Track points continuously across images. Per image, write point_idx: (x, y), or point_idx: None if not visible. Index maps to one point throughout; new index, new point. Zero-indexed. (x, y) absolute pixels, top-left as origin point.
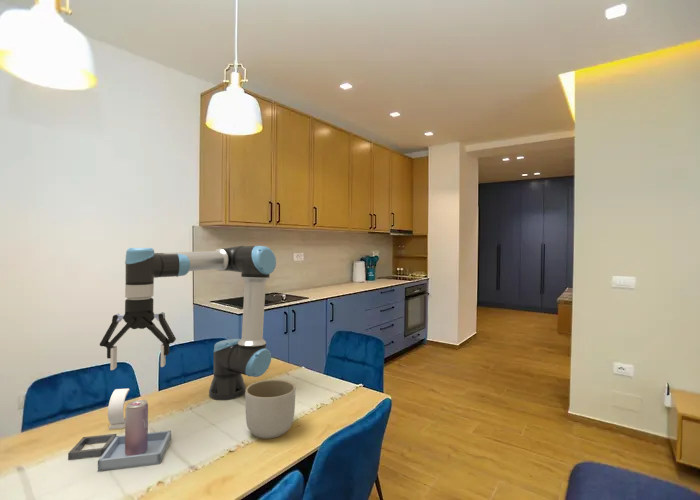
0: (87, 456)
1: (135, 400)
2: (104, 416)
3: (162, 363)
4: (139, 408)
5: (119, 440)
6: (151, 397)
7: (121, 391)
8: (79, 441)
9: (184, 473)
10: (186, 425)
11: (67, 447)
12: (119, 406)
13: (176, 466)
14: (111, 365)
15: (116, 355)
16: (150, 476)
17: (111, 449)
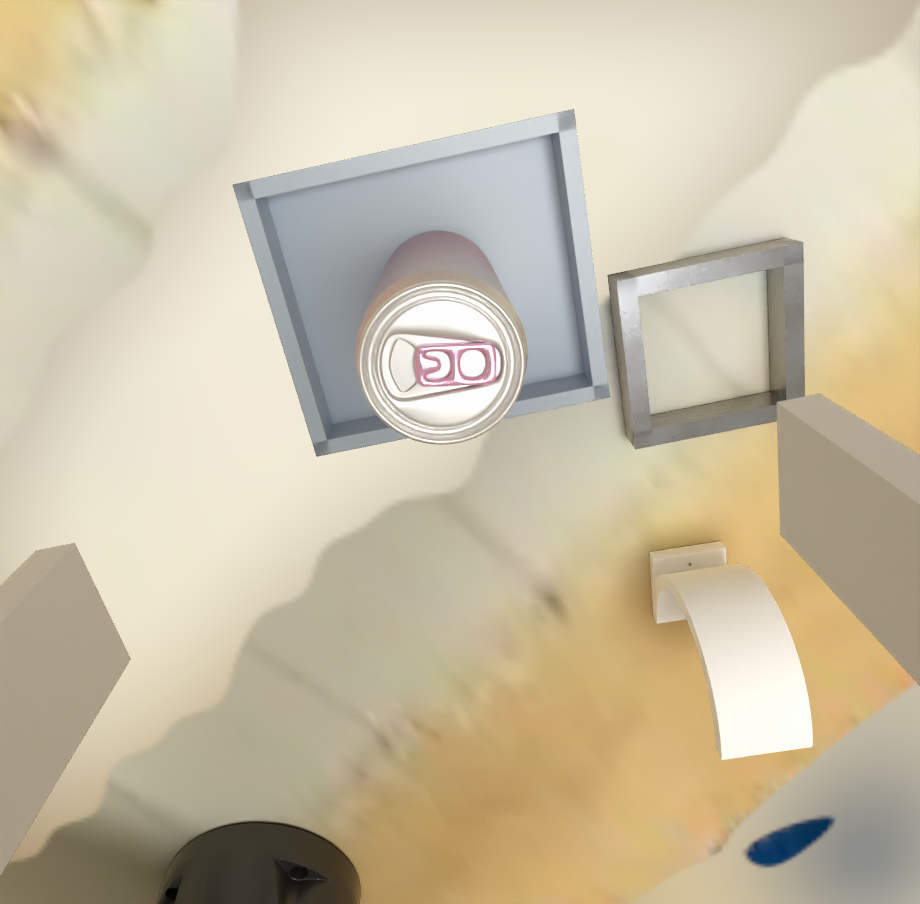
0: (693, 258)
1: (489, 429)
2: (807, 662)
3: (17, 582)
4: (385, 300)
5: (582, 380)
6: (654, 842)
7: (758, 722)
8: (802, 369)
9: (47, 75)
10: (315, 576)
11: (850, 365)
12: (711, 615)
13: (137, 153)
14: (848, 426)
15: (899, 649)
16: (232, 51)
17: (575, 276)
